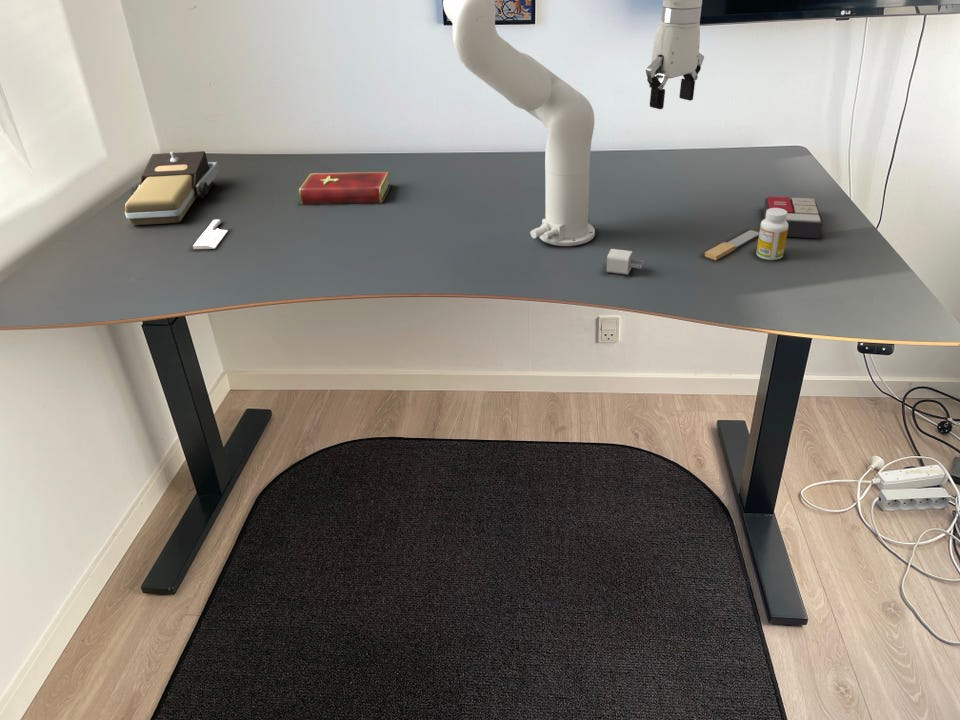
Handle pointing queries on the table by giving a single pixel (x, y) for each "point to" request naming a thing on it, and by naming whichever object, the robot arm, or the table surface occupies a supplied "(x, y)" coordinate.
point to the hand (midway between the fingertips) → (671, 103)
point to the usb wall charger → (621, 262)
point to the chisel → (730, 245)
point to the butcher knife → (210, 237)
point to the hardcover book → (344, 188)
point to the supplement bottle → (772, 234)
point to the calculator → (798, 215)
